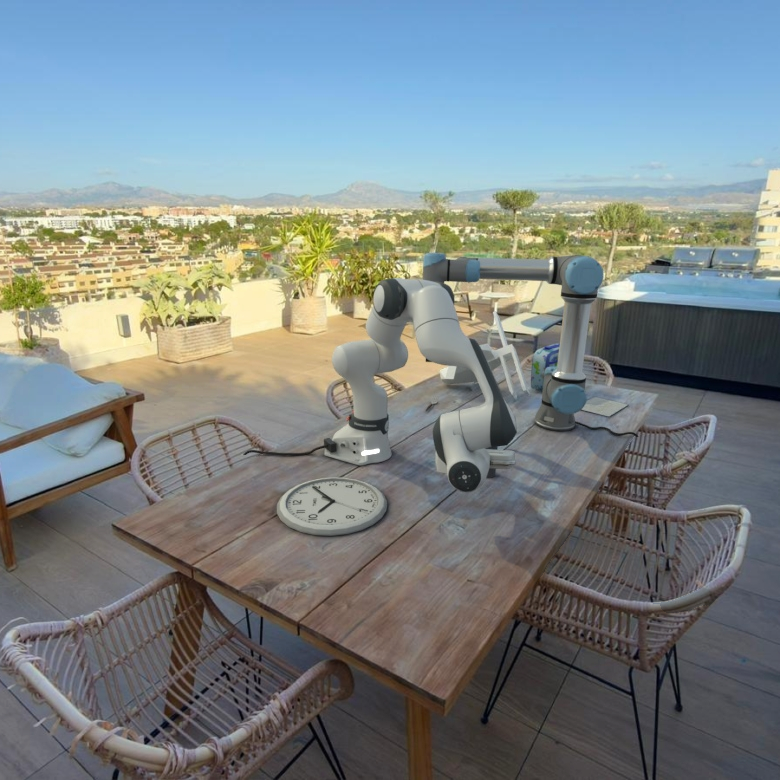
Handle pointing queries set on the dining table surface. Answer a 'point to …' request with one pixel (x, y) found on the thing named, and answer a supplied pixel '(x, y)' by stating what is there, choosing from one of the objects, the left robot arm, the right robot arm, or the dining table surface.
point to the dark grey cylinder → (491, 471)
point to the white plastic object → (494, 360)
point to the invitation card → (603, 406)
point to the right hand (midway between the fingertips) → (430, 357)
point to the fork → (432, 403)
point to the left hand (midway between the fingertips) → (476, 451)
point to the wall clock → (331, 506)
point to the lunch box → (543, 364)
